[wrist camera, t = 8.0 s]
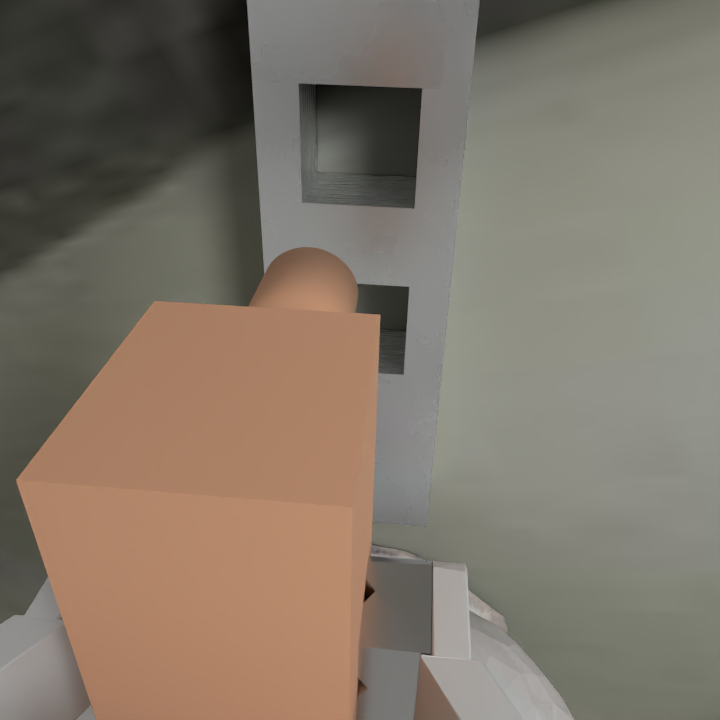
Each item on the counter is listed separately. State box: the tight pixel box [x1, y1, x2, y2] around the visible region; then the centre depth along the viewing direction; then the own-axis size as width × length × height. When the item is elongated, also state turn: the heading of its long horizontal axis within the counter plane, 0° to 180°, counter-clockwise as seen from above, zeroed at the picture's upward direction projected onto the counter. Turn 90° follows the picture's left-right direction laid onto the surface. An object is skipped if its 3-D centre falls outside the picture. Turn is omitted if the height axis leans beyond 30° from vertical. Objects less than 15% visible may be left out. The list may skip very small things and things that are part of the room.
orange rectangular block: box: [16, 247, 380, 720], centre depth 11 cm, size 9×3×7 cm, turn 179°
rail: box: [247, 0, 480, 527], centre depth 22 cm, size 24×6×3 cm, turn 179°
